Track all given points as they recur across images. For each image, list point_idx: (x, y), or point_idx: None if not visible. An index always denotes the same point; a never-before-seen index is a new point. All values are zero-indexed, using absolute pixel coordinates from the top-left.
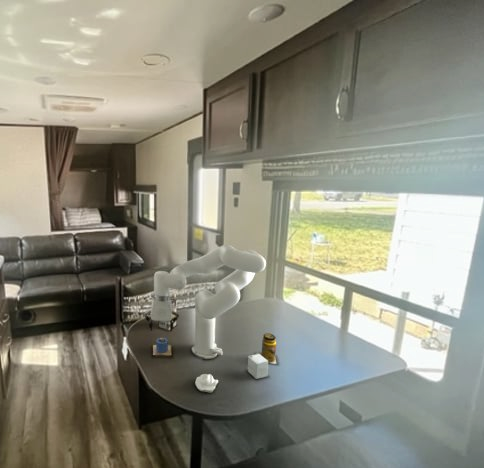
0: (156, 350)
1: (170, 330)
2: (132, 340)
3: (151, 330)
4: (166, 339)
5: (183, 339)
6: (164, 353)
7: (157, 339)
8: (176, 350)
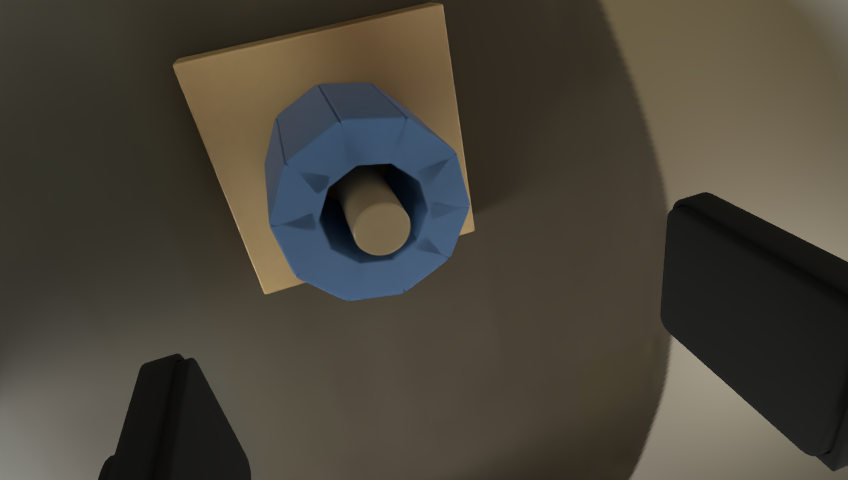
0: None
1: (185, 365)
2: None
3: (690, 197)
4: (309, 269)
5: None
6: (291, 80)
7: (453, 224)
8: (167, 240)
